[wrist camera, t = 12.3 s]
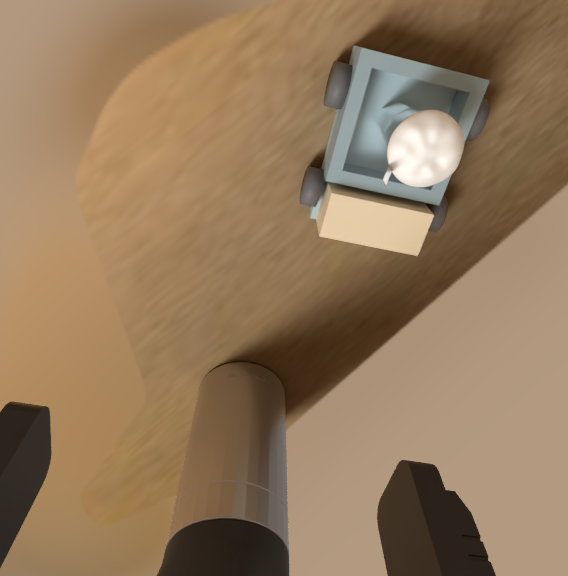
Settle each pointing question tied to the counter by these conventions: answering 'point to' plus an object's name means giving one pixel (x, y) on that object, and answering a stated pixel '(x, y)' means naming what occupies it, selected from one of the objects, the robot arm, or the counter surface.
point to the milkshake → (418, 144)
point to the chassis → (370, 157)
